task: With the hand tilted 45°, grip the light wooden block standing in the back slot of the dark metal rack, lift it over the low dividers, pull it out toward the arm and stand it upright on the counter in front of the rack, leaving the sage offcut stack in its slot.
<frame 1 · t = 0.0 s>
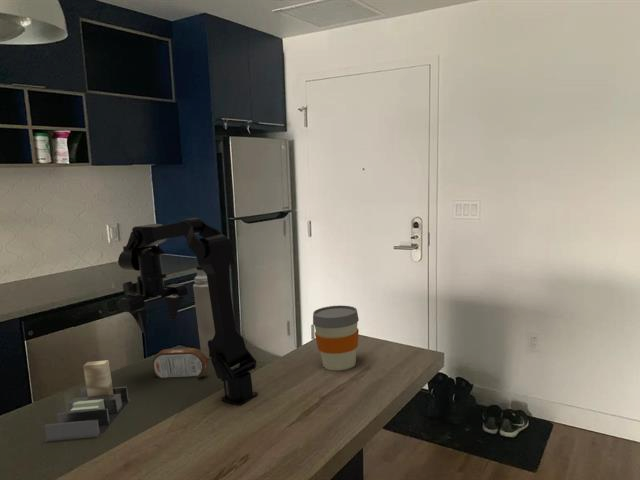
hand: (158, 327, 135), 15 cm above the countertop, tool pointing down, fingers open, 9 cm apart
rack: (94, 420, 116), on the countertop
reusable coffee cup: (339, 364, 137), on the countertop
tin: (181, 379, 136), on the countertop
light wooden block: (102, 406, 120), point 1 cm above the countertop, touching rack
offcuts: (89, 420, 113), point 1 cm above the countertop, touching rack
thermos bottle: (214, 354, 154), on the countertop
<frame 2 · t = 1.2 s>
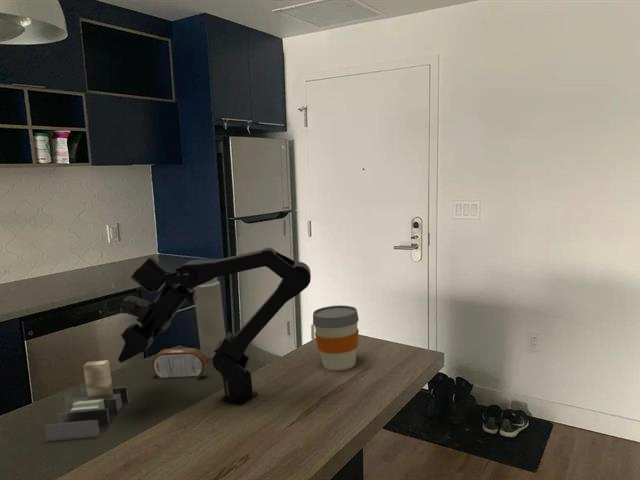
hand: (127, 354, 119), 13 cm above the countertop, tool tilted 45°, fingers open, 9 cm apart
nothing on the countertop moved.
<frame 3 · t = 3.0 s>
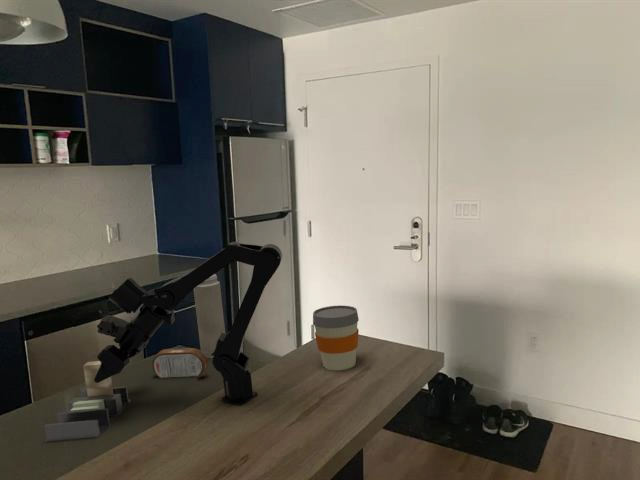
hand: (103, 373, 119), 9 cm above the countertop, tool tilted 45°, fingers open, 9 cm apart
nothing on the countertop moved.
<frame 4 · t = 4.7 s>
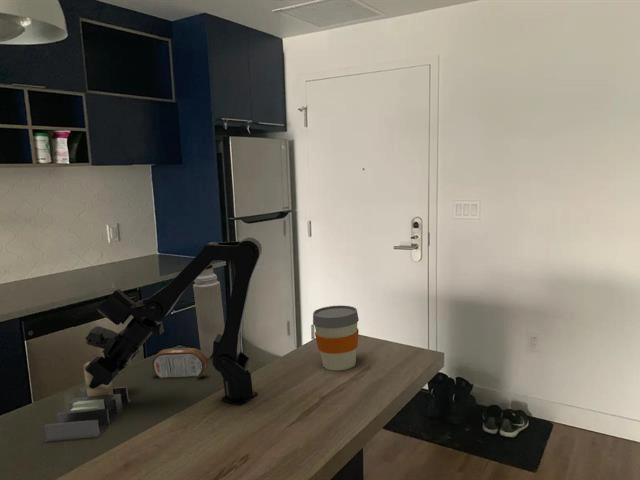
hand: (93, 385, 120), 7 cm above the countertop, tool tilted 45°, fingers closed on light wooden block, 2 cm apart
light wooden block: (102, 406, 120), point 1 cm above the countertop, touching gripper, rack
everything else where it was.
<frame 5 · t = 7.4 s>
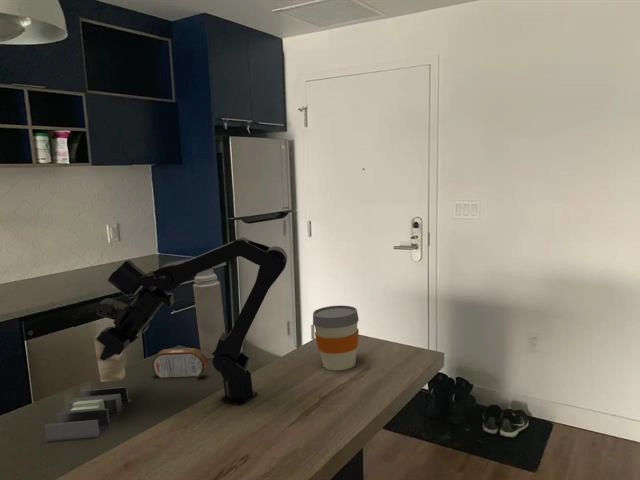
hand: (104, 357, 119), 13 cm above the countertop, tool tilted 45°, fingers closed on light wooden block, 2 cm apart
light wooden block: (113, 378, 120), point 8 cm above the countertop, touching gripper
everything else where it was.
when the fingers open (7 cm above the countertop, at t = 10.3 s): light wooden block drops 1 cm, on the countertop.
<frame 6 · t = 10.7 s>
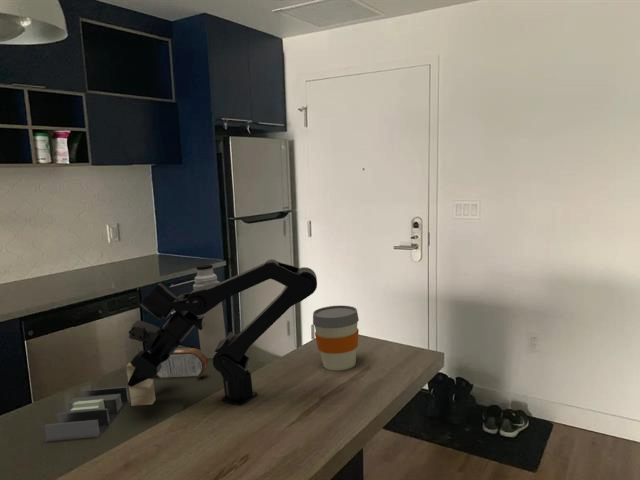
hand: (134, 379, 120), 7 cm above the countertop, tool tilted 45°, fingers open, 7 cm apart
light wooden block: (144, 406, 121), on the countertop
everything else where it was.
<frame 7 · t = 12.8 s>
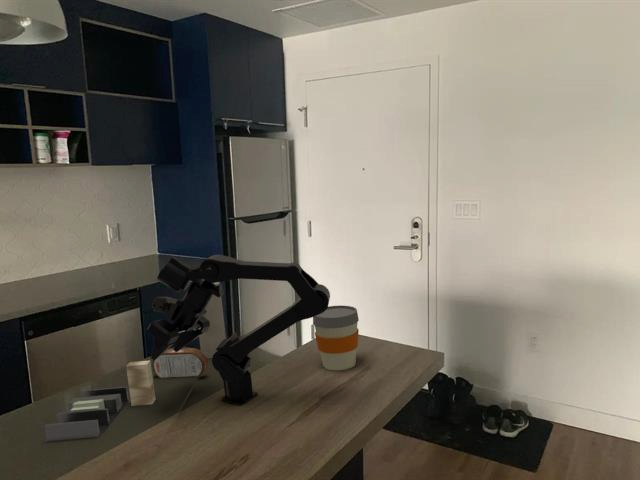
hand: (164, 354, 121), 12 cm above the countertop, tool tilted 35°, fingers open, 9 cm apart
nothing on the countertop moved.
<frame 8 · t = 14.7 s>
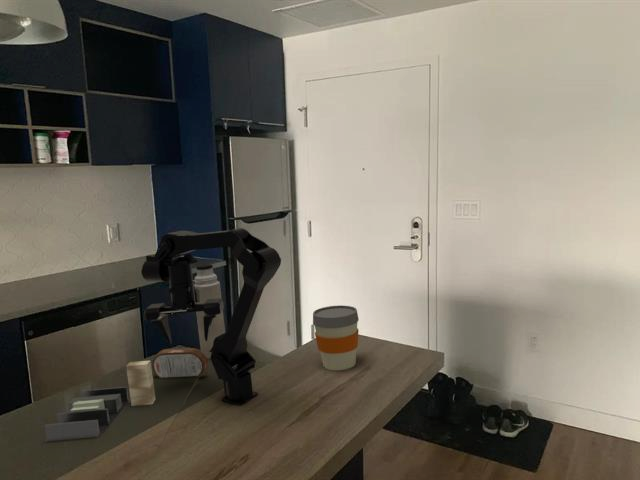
hand: (188, 342, 126), 13 cm above the countertop, tool pointing down, fingers open, 9 cm apart
nothing on the countertop moved.
at the end: light wooden block inside the target area (0.1 cm from its centre), on the countertop; light wooden block tilted 0°; offcuts moved 0.0 cm from its start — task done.
